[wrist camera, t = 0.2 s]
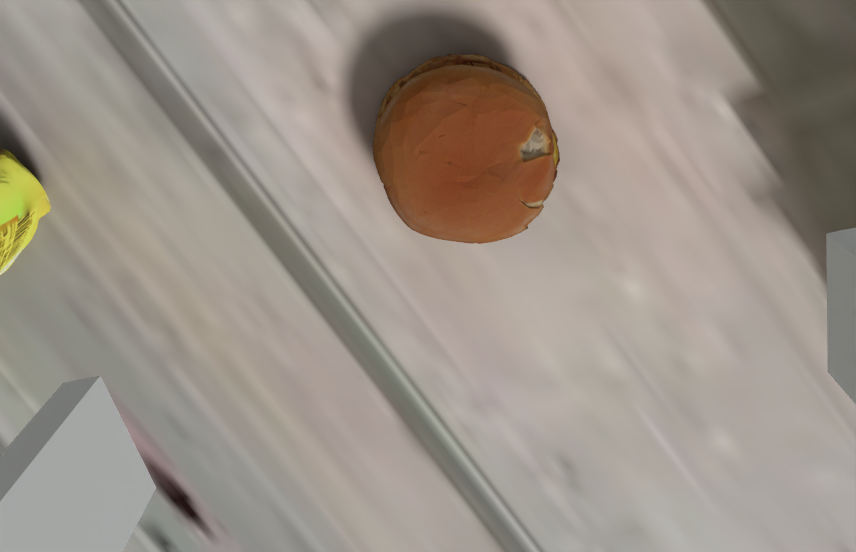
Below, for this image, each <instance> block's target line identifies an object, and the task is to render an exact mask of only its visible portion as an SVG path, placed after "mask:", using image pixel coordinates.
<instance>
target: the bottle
mask: <svg viewBox="0 0 856 552" xmlns="http://www.w3.org/2000/svg"><path fill="white" fill-rule="evenodd" d="M50 210H51V205H50V202H49V199H48V197H47V194H46V192H45V191H44V189H43V187H42V186H41V184H40V183H39V181H38V180H37V179H36V177H35V176H34V175H33V174H32V173H31V172H30V171H29V170H28V169H27V168H26V167H25V166H23V165H22V164H21V163H20V162H19V161H18V160H17V158H16V157H15V156H14V155H13V154H12V153H11V152H9V151H7V150H5V149H3V148H0V275H1V274H3V273H4V272H5V271H6V270H7V269H8V268H9V267H10V266H11V265H12V264H13V262H14V261H15V259H16V257H17V256H18V255H19V254H20V252H21V251H22V250H23V249H24V248H25V247H26V246H27V244H28V243H29V242H30V241H31V239H32V238H33V236H34V233H35V231H36V229H37V225H38V220H39V219H40V218H41V217H42V216H44V215H45V214H46V213H48V212H49V211H50Z"/></svg>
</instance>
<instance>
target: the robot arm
mask: <svg viewBox="0 0 856 552" xmlns="http://www.w3.org/2000/svg"><path fill="white" fill-rule="evenodd" d="M827 337H828V372H829V374H830V375H831V376H832V377H833V378H834V379H835V381H836V382H837V383H838V384H839V385H840V387H841V388H842V389H843V390H844V391H845V392H846V394H847V395H848V396H849V397H850V398H851V399H852V401H853V402H854V403H855V404H856V228H852V229H847V230H842V231H837V232H832V233H827ZM155 489H156V486H155V484H154V482H153V480H152V478H151V476H150V474H149V472H148V470H147V468H146V466H145V464H144V462H143V460H142V458H141V456H140V454H139V452H138V450H137V448H136V446H135V444H134V442H133V440H132V438H131V436H130V434H129V432H128V430H127V428H126V426H125V424H124V422H123V420H122V418H121V416H120V414H119V412H118V410H117V408H116V406H115V404H114V402H113V400H112V398H111V396H110V394H109V392H108V390H107V388H106V386H105V384H104V382H103V380H102V378H101V376H96V377H91V378H86V379H81V380H76V381H71V382H66V383H63V384H62V385H61V386H60V387H59V388H58V390H57V391H56V392H55V393H54V394H53V395H52V397H51V398H50V399H49V400H48V401H47V402H46V403H45V405H44V406H43V407H42V408H41V409H40V410H39V412H38V413H37V414H36V415H35V416H34V417H33V418H32V420H31V421H30V422H29V423H28V424H27V425H26V427H25V428H24V429H23V430H22V431H21V432H20V434H19V435H18V436H17V437H16V438H15V439H14V440H13V442H12V443H11V444H10V445H9V446H8V447H7V449H6V450H5V451H4V452H3V453H2V454H1V455H0V552H122V551H123V549H124V548H125V546H126V544H127V542H128V540H129V538H130V536H131V534H132V533H133V531H134V529H135V527H136V525H137V523H138V521H139V519H140V518H141V516H142V514H143V512H144V510H145V508H146V506H147V504H148V503H149V501H150V499H151V497H152V495H153V493H154V491H155Z"/></svg>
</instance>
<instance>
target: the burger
mask: <svg viewBox="0 0 856 552" xmlns="http://www.w3.org/2000/svg"><path fill="white" fill-rule="evenodd" d="M557 140H558V139H557V137H556V134H555V132H554V131H553V129H552V127H551V124H550V120H549V117H548V113H547V110H546V107H545V104H544V103H543V101H542V99H541V97H540V96H539V94H538V93H537V92H536V91H535V90H534V88H533V87H532V86H531V84H530V83H529V82H528V81H527V79H523V78H522V77H521V76H520V75H519V74H518V73H517V72H516V71H514V70H512V69H511V68H509V67H507V66H504V65H502V64H500V63H497V62H493V61H492V60H491V59H489V58H487V57H485V56H482V55H478V54H470V55H450V54H449V55H447V56H444V57H436V58H432V59H431V60H428V61H426V62H425V63H423V64H421V65H420V66H418V67H417V68H416V69H415V70H413V71H412V72H411V73H410V74H409V75H407V76H406V77H404V78H401V79H399V80H398V81H397V82H396V83H394V84H393V85H392V87H391V88H390V89H389V91H388V93H387V94H386V96H385V98H384V100H383V102H382V104H381V107H380V110H379V113H378V117H377V122H376V127H375V135H374V141H373V154H374V161H375V164H376V168H377V171H378V174H379V176H380V179H381V181H382V183H384V189H385V191H386V194H387V196H388V199H389V201H390V203H391V205H392V206H393V208H394V210H395V211H396V213H397V214H398V216H399V217H400V218H401V219H402V220H403V222H404V223H405V224H406V225H407V226H408V227H410V228H411V229H412V230H414V231H416V232H418V233H420V234H422V235H426V236H429V237H433V238H437V239H442V240H448V241H456V242H464V243H479V244H481V243H488V242H494V241H498V240H502V239H505V238H509V237H512V236H514V235H516V234H518V233H521V232H522V231H524V230H526V229H527V228H528V227H527V225H528V224H529V223H530V222H531V221H532V220H533V219H534V218H536V217H537V216H538V215H539V213H540V212H541V210H542V209H543V207H544V206H543V204H542V203H543V202H544V201H545V200H546V199H547V197H548V196H549V194H550V192H551V190H552V188H553V182H554V180H555V178H556V176H557V170H556V168H557V165H558V163H559V161H560V158H559V150H558V146H557Z"/></svg>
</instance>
